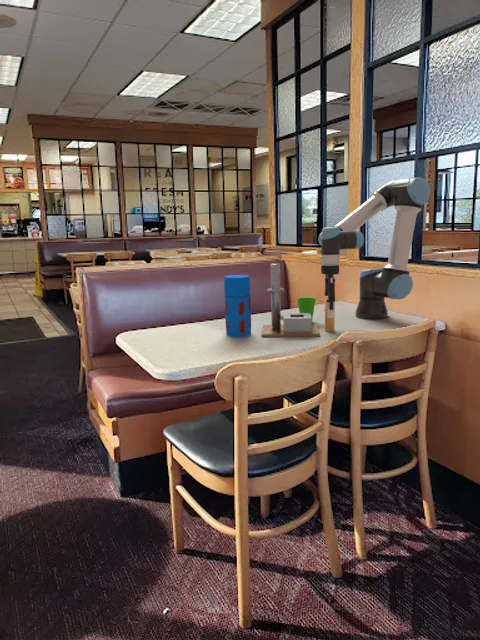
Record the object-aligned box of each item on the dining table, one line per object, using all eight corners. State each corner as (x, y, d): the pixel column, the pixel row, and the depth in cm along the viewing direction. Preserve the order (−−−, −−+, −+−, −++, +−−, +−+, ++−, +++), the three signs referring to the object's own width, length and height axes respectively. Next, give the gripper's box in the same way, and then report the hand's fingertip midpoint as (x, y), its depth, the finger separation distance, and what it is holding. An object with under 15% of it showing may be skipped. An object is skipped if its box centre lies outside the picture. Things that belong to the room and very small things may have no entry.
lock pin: (333, 329, 212) (334, 295, 209) (334, 331, 208) (335, 297, 205) (324, 329, 212) (324, 295, 209) (325, 332, 208) (325, 297, 205)
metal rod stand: (316, 326, 218) (316, 261, 212) (319, 336, 201) (319, 265, 195) (263, 327, 220) (261, 262, 214) (261, 337, 203) (260, 267, 197)
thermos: (254, 332, 212) (253, 274, 207) (246, 338, 202) (245, 278, 197) (231, 331, 215) (229, 274, 210) (222, 336, 205) (220, 277, 200)
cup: (315, 319, 233) (315, 296, 231) (316, 323, 224) (316, 300, 222) (296, 319, 234) (296, 297, 232) (297, 323, 225) (296, 300, 223)
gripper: (318, 262, 217) (318, 308, 221) (323, 267, 192) (322, 320, 197) (336, 261, 216) (335, 308, 220) (342, 267, 192) (341, 320, 196)
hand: (329, 314), depth 208 cm, fingers open, 13 cm apart
